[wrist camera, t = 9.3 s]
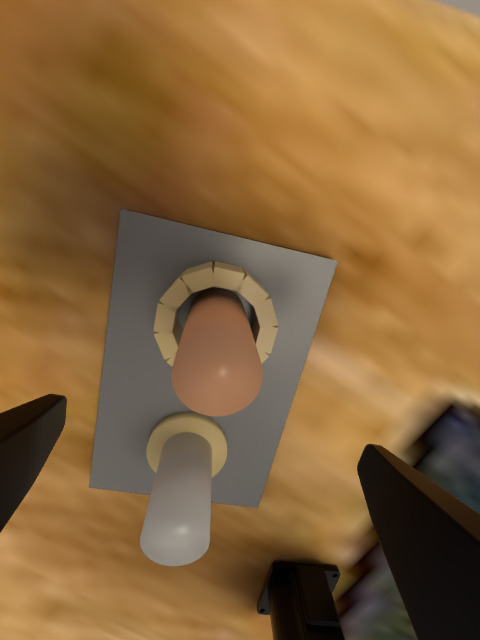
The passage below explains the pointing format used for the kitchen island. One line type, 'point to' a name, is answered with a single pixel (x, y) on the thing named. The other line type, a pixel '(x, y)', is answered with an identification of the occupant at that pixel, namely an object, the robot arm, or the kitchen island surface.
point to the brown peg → (217, 356)
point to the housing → (156, 366)
